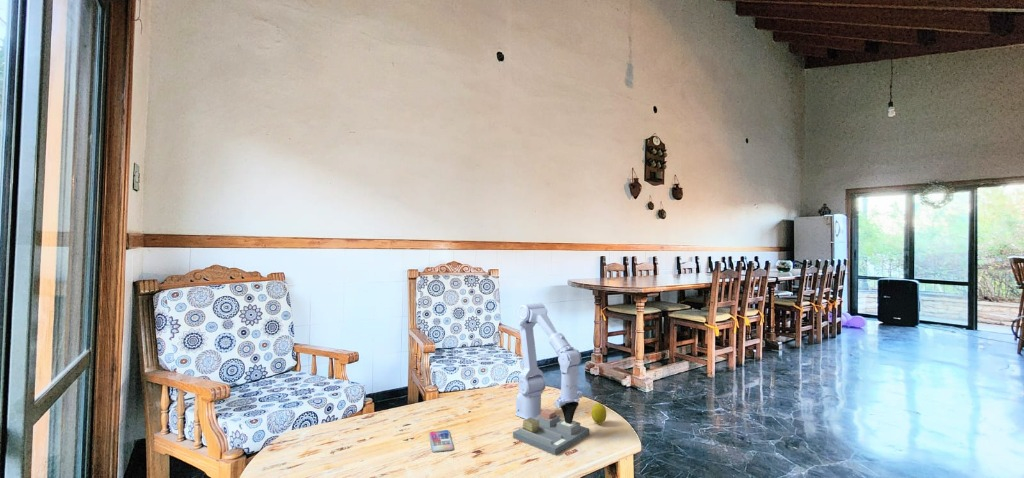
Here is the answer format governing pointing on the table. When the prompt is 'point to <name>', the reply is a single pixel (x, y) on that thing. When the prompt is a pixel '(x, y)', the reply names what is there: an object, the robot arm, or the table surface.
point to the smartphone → (440, 441)
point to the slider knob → (531, 425)
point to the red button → (548, 414)
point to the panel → (552, 435)
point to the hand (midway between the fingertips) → (568, 422)
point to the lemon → (599, 413)
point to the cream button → (568, 423)
